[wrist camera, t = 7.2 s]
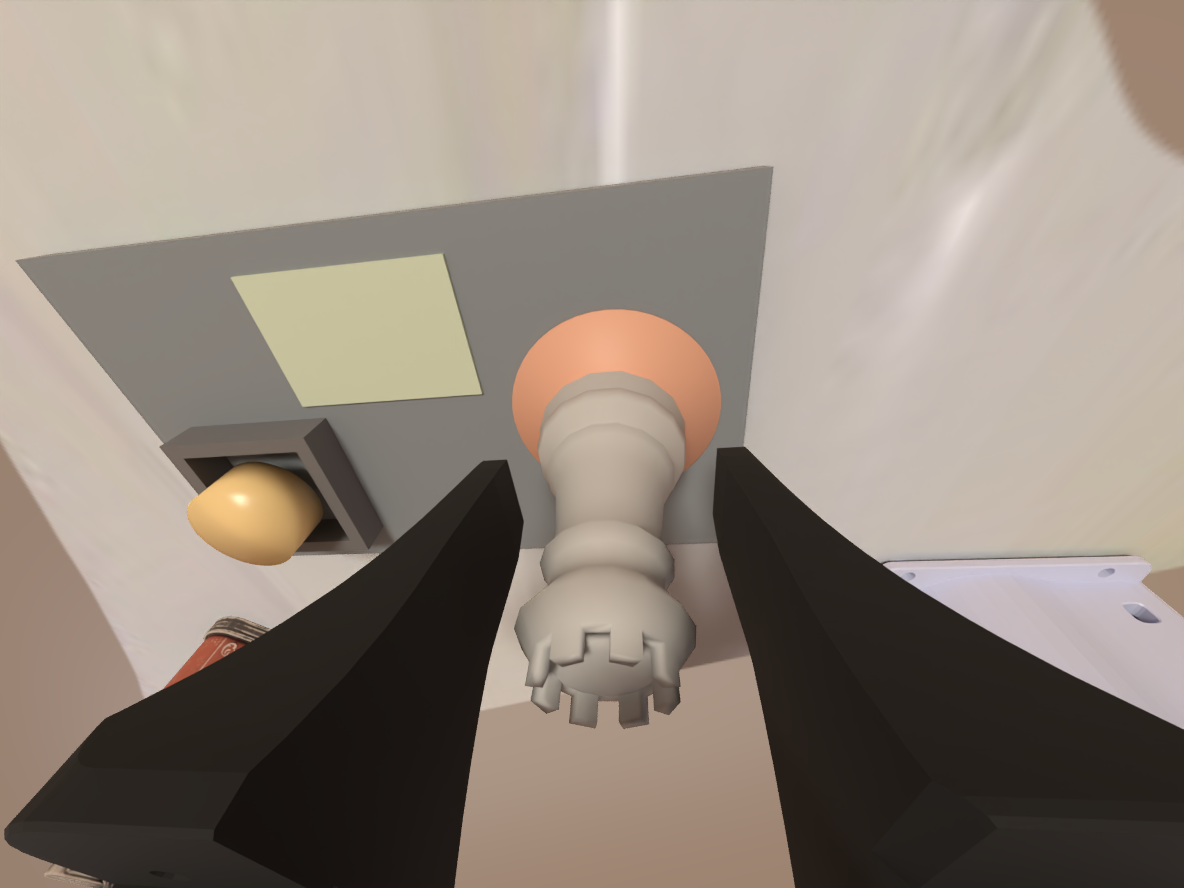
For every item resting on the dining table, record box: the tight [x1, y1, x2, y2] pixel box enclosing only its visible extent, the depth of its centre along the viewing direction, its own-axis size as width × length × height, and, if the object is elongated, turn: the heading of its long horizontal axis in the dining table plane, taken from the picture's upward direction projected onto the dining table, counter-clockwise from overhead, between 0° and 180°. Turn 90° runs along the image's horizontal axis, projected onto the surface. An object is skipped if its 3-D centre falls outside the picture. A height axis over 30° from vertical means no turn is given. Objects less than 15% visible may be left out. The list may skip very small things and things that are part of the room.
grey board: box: [15, 166, 773, 556], centre depth 14 cm, size 20×12×2 cm, turn 96°
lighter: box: [44, 617, 270, 888], centre depth 20 cm, size 8×3×10 cm, turn 41°
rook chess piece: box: [514, 371, 696, 729], centre depth 10 cm, size 4×4×8 cm
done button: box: [187, 462, 323, 566], centre depth 14 cm, size 3×3×2 cm
